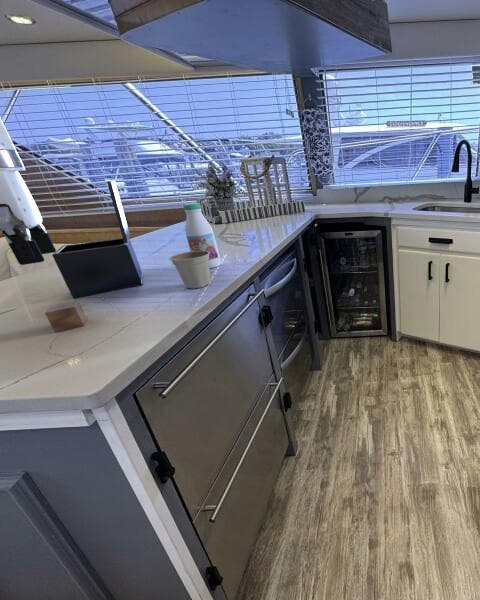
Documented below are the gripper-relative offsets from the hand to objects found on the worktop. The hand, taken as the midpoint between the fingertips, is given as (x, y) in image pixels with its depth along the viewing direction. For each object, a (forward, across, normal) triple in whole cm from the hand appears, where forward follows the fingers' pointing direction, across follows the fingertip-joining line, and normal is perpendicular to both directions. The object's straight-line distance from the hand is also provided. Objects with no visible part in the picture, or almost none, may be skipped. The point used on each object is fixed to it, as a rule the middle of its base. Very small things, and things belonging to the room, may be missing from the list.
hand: (39, 257), depth 63 cm
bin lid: (-5, -28, +12) cm, 31 cm away
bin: (+15, -28, +4) cm, 32 cm away
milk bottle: (+15, -30, +30) cm, 45 cm away
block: (+15, 0, 0) cm, 15 cm away
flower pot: (+15, -10, +24) cm, 31 cm away
